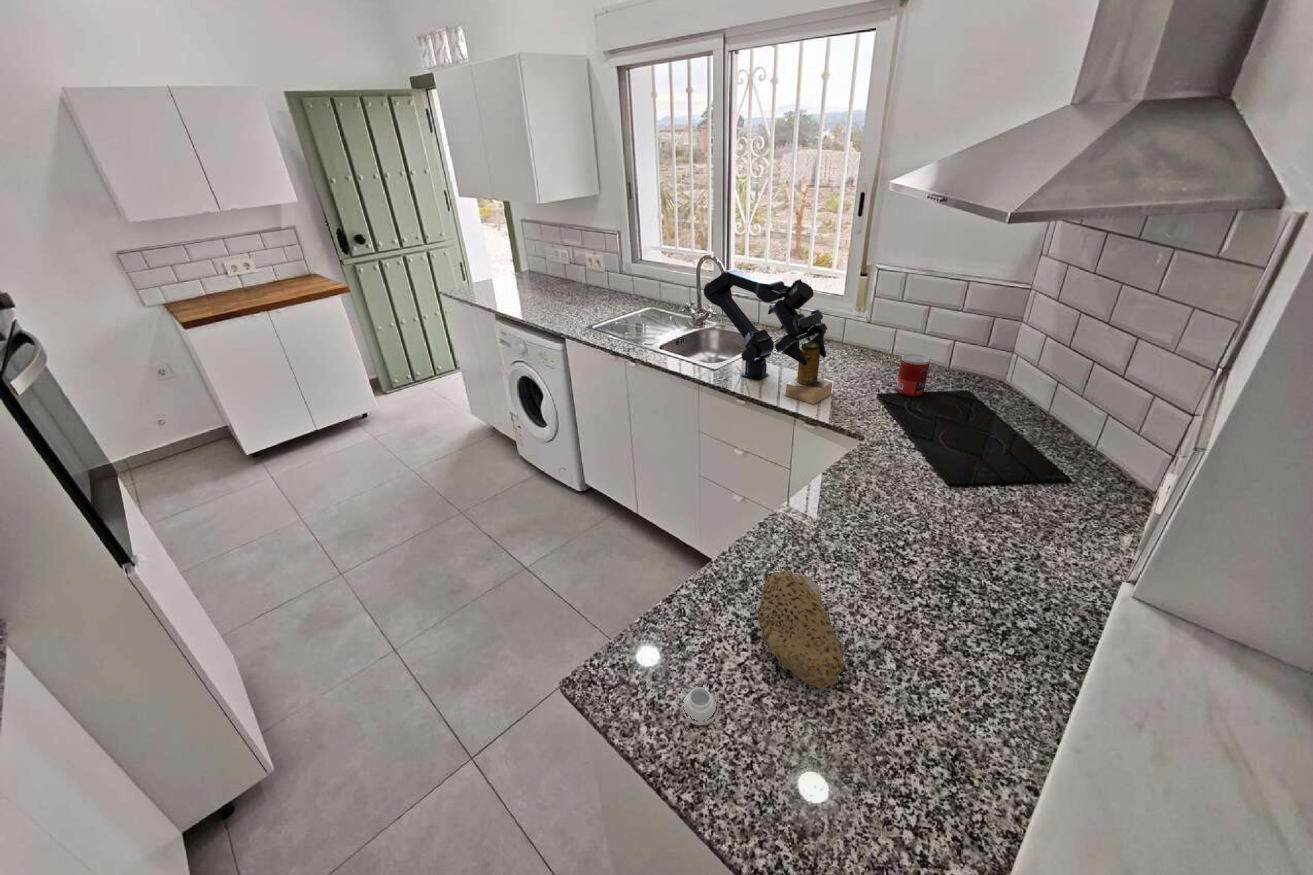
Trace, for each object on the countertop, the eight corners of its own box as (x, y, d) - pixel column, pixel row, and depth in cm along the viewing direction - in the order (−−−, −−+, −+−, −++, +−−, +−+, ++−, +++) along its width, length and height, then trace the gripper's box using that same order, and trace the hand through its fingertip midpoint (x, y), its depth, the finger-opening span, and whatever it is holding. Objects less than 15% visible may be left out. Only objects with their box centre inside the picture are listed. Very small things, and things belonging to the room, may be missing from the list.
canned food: (919, 398, 162) (927, 364, 157) (892, 393, 166) (898, 359, 161) (926, 390, 167) (933, 356, 162) (899, 384, 172) (905, 351, 166)
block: (785, 395, 168) (786, 383, 166) (803, 385, 174) (804, 374, 172) (813, 404, 162) (815, 392, 160) (831, 394, 168) (832, 382, 166)
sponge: (757, 596, 96) (745, 673, 78) (769, 559, 94) (759, 629, 75) (831, 620, 94) (837, 705, 75) (845, 583, 91) (854, 661, 73)
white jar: (724, 716, 75) (705, 688, 79) (725, 702, 74) (705, 675, 78) (694, 733, 73) (675, 704, 77) (694, 719, 72) (675, 690, 76)
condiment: (796, 377, 170) (799, 340, 165) (824, 378, 168) (828, 341, 163) (795, 386, 164) (798, 348, 158) (824, 387, 162) (828, 350, 156)
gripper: (785, 308, 152) (814, 355, 150) (825, 296, 162) (853, 339, 160) (762, 330, 161) (789, 374, 159) (802, 317, 171) (827, 358, 169)
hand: (815, 361), depth 161 cm, fingers open, 9 cm apart
